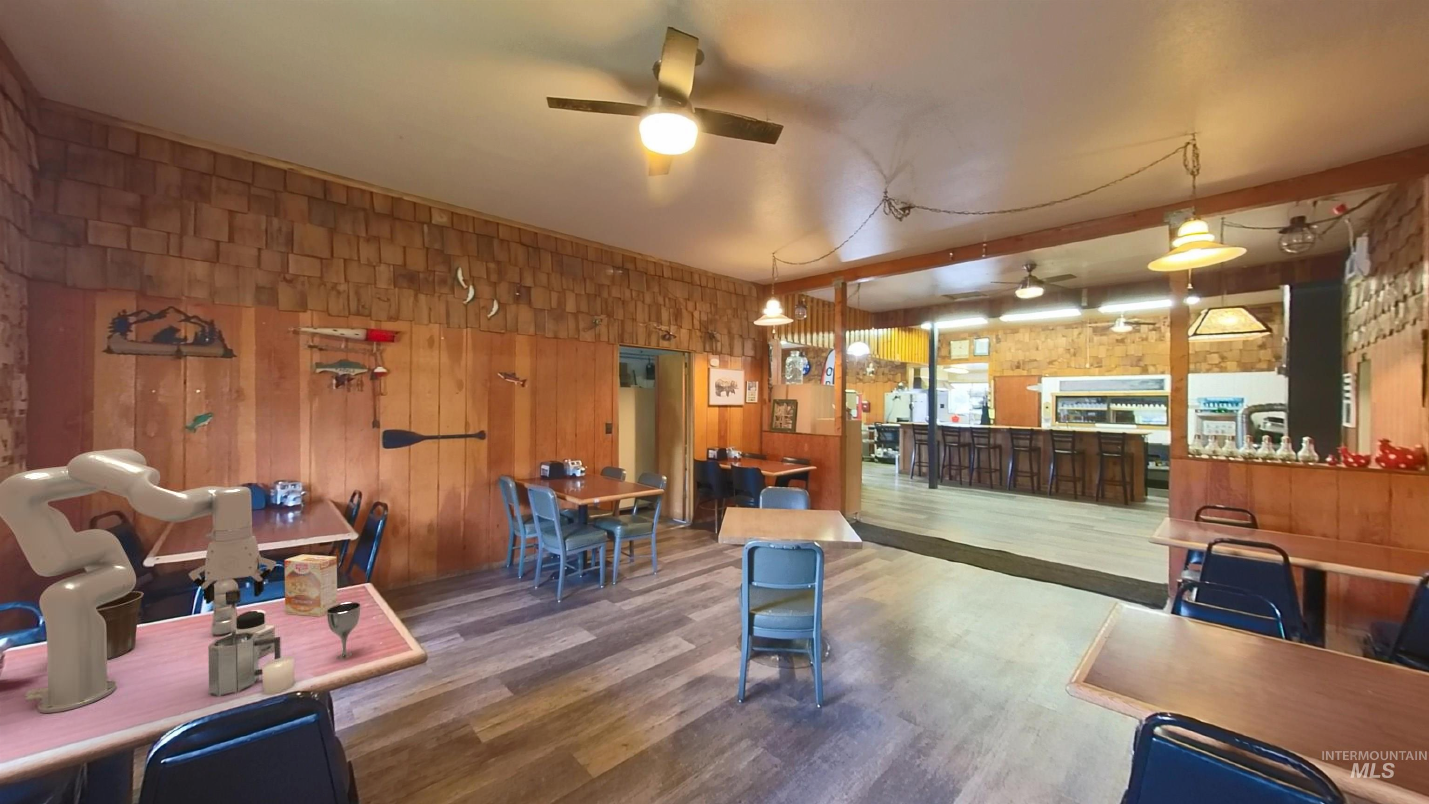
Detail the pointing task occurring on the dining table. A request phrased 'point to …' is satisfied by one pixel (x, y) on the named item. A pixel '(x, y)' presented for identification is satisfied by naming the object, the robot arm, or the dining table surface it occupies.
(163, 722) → the dining table surface
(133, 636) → the plant pot
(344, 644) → the wine glass
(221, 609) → the plastic bottle
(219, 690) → the press carafe
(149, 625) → the dining table surface
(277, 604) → the dining table surface
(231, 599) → the plunger
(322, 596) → the coffeecake box
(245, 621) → the container
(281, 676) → the pillar candle
